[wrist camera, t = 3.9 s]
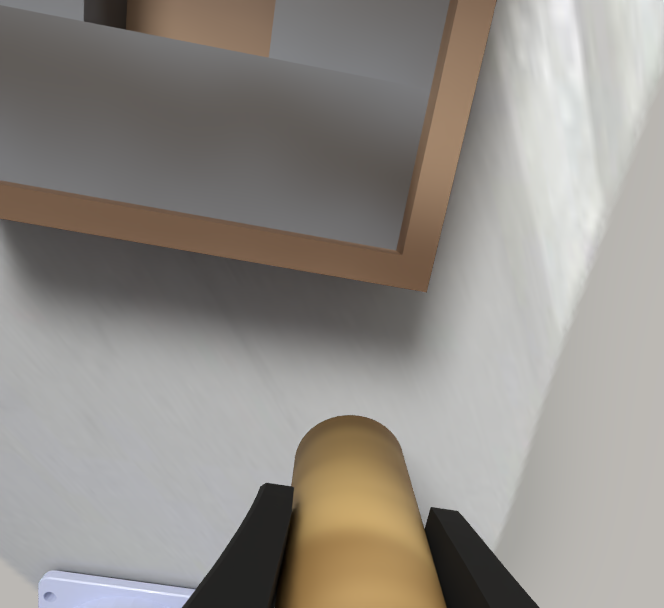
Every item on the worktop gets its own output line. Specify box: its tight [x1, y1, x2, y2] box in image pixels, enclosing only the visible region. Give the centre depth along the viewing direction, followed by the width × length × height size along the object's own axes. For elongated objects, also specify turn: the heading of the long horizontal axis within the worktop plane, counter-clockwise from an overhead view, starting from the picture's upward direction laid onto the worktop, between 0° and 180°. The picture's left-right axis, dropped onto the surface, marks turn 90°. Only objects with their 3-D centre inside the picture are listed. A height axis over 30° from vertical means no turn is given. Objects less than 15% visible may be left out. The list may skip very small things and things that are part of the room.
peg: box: [275, 415, 447, 608], centre depth 7 cm, size 3×3×8 cm
